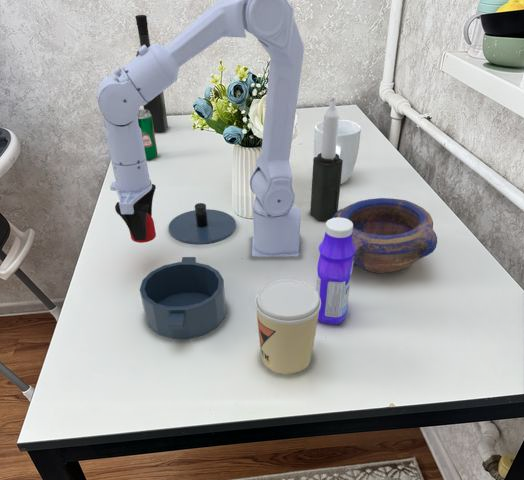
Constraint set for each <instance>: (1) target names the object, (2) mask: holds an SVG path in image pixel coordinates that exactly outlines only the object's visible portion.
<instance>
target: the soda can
mask: <svg viewBox="0 0 524 480" xmlns="http://www.w3.org/2000/svg"><path fill="white" fill-rule="evenodd" d="M137 118H138V123H139V127H140V128H141V131H142V137H143V143H144V149H145V155H146V160H147V161H153V160H154V159H157V157H158V147H157V141H156V133H154V127H153V121H152V115H151V114H150V111H149V110H145V109H144V108H143V109H139V114H138V116H137Z"/></svg>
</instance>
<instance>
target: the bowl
mask: <svg viewBox="0 0 524 480" xmlns="http://www.w3.org/2000/svg"><path fill="white" fill-rule="evenodd" d="M338 217H340V218H346V219H348V220H350V221H351V222H352V223H353V232H352V241H353V245H354V246H355V253H354V255H353V264H355V265H357V266H358V267H360V268H361V269H363V270H365V271H368V272H372V273H376V274H388V273H395V272H398V271H400V270H403V269H406V268H407V267H409V266H411V265H413V264H414V263H417V261H419V260H422V259H423V258H425V257H427V256H429V255H431V254H432V253H433V252H434V251H435V250H436V248H437V245H438V236H437V233H436V232H435V230H434V220H433V218H432V215H431V214H430V213H429V212H428V211H427V210H426V209H424V208H423V207H422V206H420V205H418V204H416V203H413V202H411V201H409V200H407V199H399V198H391V197H388V198H387V197H378V198H367V199H364V200H359V201H356V202H354V203H351V204H349V205H347V206H345V207H344V208H340V209H338V212H337V213H336V214H335V215H334V216H333V217H332V218H338Z"/></svg>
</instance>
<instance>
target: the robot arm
mask: <svg viewBox="0 0 524 480" xmlns="http://www.w3.org/2000/svg"><path fill="white" fill-rule="evenodd" d="M294 13H295V12H294V8H293V6H292V4H290V3H289V1H288V0H217V1H216V2H214V3H213V4H212V5H211V6H210V7H209V8H208V9H206V10H205V11H204V12H203V13H202V14H200V15H199V17H198V18H196V19H195V20H194V21H193V22H192V23H190V24H189V25H188V26H187V27H186V28H185V29H184V30H182V31H181V32H180V33H179V34H178V35H177V36H176V37H174V38H173V39H172V40H171V41H170V42H168V43H167V44H166V45H161V44H157V43H151V44H150V47H148V48H147V47H146V45H143V46H142V47H140V46H139V48H138V49H137V51H139V53H140V55H138V56H137V57H136V56H135V58H133V59H132V60H130V61H129V62H128V63H127V64H126V65H124V66H123V67H122V68H120V67H119V66H117V67H116V68H115V69H113V74H114V75H109V76H105V77H104V78H103V79H101V81H100V82H99V83H98V87H97V91H96V100H97V104H98V108H99V111H100V113H101V115H102V116H103V119H102V122H103V127H104V128H105V131H104V133H105V134H104V135H105V139H106V143H107V148H108V152H109V157H110V162H111V167H112V170H113V175H114V179H115V181H112V182H111V183H110V185H109V189H110V191H115V192H116V193H117V196H118V199H119V201H117V202H116V203H115V205H114V210H115V212H116V214H117V215H118V216H119V217H120V218H121V219H122V220H123V221H124V223H125V224H126V227H127V229H128V230H130V231H129V233H130V232H131V234H132V236H133V238H134V240H146V236H147V227H146V217H147V213H148V214H149V215H150V216H151V217H152V218H153V216H152V215H153V201H154V195H155V193H156V188H157V187H156V186H157V185H156V184H154V183H152V181H151V178H150V172H149V166H148V160H146V155H145V149H144V143H143V137H142V131H141V128H140V127H139V123H138V118H137V116H138V114H139V110H140V107H142V106H143V105H146V104H147V103H148V102H150V101H151V100H152V99H153V98H155V97H156V96H157V95H159V94H160V93H161V92H163V93H164V91H165V90H167V89H168V88H169V87H170V86H172V85H173V84H174V83H176V82H177V81H178V76H179V72H180V71H179V70H180V67H182V66H183V65H185V64H186V63H187V62H189V61H190V60H191V59H194V57H196V56H197V55H199V54H200V53H202V52H203V51H205V50H206V49H207V48H209V47H210V46H212V45H214V44H215V43H216V42H218V41H219V40H220V39H222V38H226V37H227V38H246V37H247V35H246V31H247V32H248V33H249V34H251V35H253V37H255V38H256V40H257V41H258V43H260V45H261V46H262V47H263V48H264V50H265V51H266V52H267V54H268V55H269V57H270V58H269V68H268V69H269V70H268V77H267V79H268V80H267V88H266V89H267V91H266V101H265V110H264V121H263V129H262V131H263V132H262V141H261V150H260V155H259V156H258V157H257V158H256V160H255V161H256V162H255V168H254V170H253V171H252V174H251V175H250V178H249V188H250V190H251V192H252V193H253V194H254V195H255V199H254V202H253V204H252V219H253V221H252V223H253V236H251V237H252V239H251V256H252V257H299V256H300V243H301V236H302V235H301V208H300V206H295V205H294V203H295V199H296V198H295V197H296V196H295V192H294V189H293V173H292V169H291V164H290V157H291V149H292V143H293V135H294V127H295V120H296V112H297V105H298V100H299V99H298V98H299V90H300V83H301V76H302V69H303V62H304V53H305V45H304V42H303V39H302V36H301V33H300V31H299V28H298V25H297V22H296V20H295V14H294Z"/></svg>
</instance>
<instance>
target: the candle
mask: <svg viewBox="0 0 524 480" xmlns="http://www.w3.org/2000/svg"><path fill="white" fill-rule="evenodd" d="M339 119H340V114H339V112H338V110H337V106H336V96H335V95H332V96H331V97H330V103H329V104H328V107H327V109H326V111H325V112H324V115H323V121H324V125H323V140H322V153H320V154H318V156H317V157H314V156H313V158H312V159H313V160H312V163H313V164H312V175H311V193H310V194H311V196H310V197H311V198H310V210H309V214H310V216H311V217H312V218H313V219H315V220H316V221H318V222H320V223H321V222H322V223H323V222H327V221H328V220H330V219H332V217H333V216H334V215H335V214H336V213H337V212H338V211H339V203H340V192H341V185H342V184H341V174H342V164H343V160H342V159H340V158H339V155H338V154H336V144H337V133H338V121H339Z"/></svg>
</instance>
